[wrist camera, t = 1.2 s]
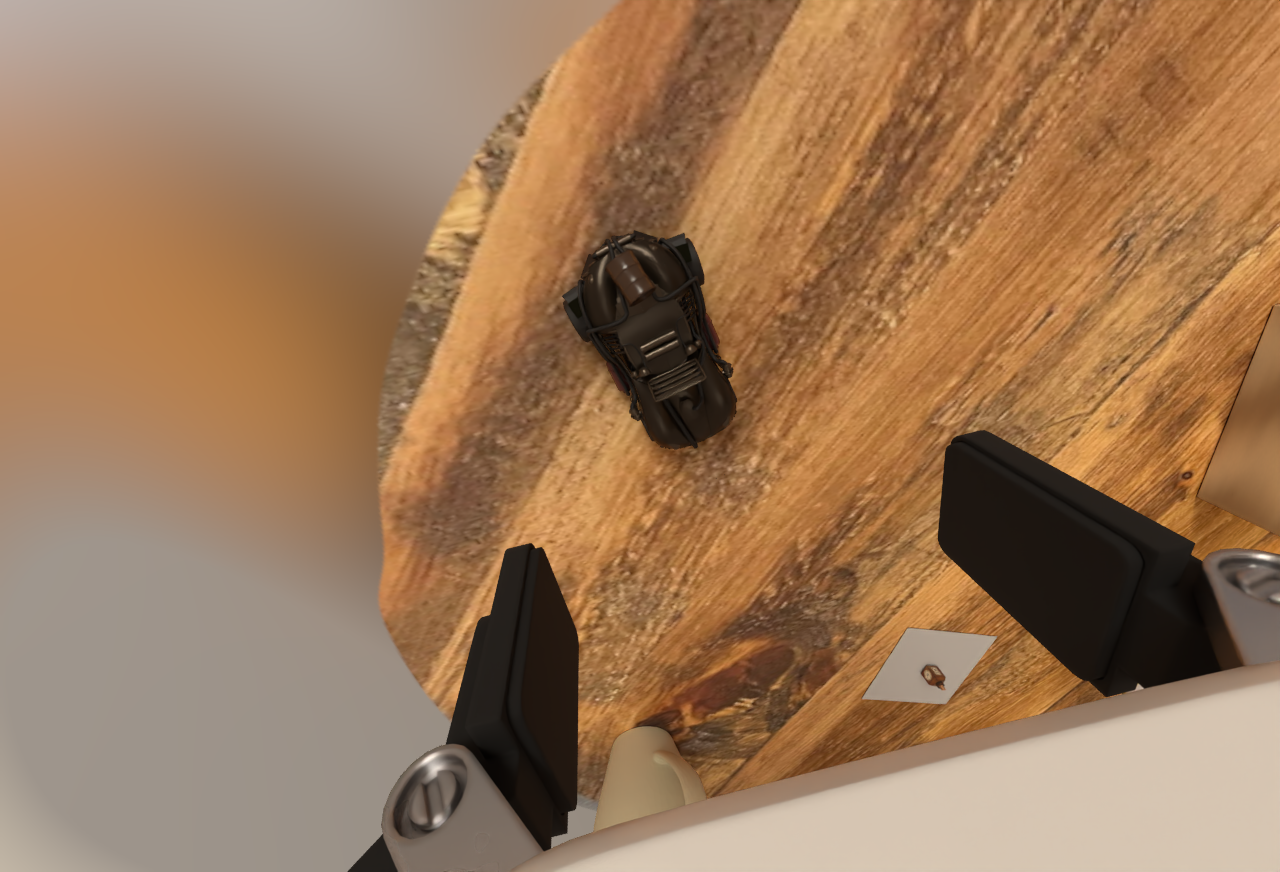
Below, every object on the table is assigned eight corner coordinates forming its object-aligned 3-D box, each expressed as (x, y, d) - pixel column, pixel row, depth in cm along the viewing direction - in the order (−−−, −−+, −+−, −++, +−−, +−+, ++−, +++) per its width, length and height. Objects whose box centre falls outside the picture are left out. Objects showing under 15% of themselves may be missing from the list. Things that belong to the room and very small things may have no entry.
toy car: (671, 201, 20) (691, 200, 16) (758, 425, 25) (789, 464, 21) (546, 267, 21) (536, 281, 17) (656, 471, 26) (668, 518, 22)
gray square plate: (945, 704, 39) (961, 726, 37) (861, 698, 37) (874, 721, 36) (997, 636, 36) (1017, 657, 34) (907, 627, 34) (924, 649, 32)
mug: (722, 752, 39) (774, 960, 28) (612, 789, 39) (622, 1006, 29) (679, 674, 34) (722, 891, 23) (555, 718, 35) (540, 948, 24)
